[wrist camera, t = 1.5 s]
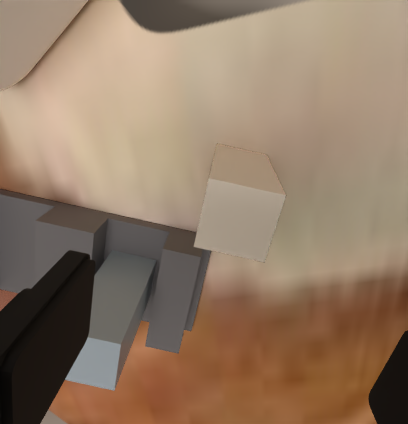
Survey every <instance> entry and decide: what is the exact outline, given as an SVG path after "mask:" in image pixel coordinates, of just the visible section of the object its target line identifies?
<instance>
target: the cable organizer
mask: <svg viewBox="0 0 408 424" xmlns="http://www.w3.org/2000/svg"><path fill="white" fill-rule="evenodd" d="M87 2H88V0H0V90H4V89H7V88H10V87H11V86H13V85H15V84H16V83H18V82H19V81H20V80H22V79H23V78H24V77H25V76H26V75H27V74H28V73H29V72H30V71H31V70H32V69H33V67H34V66H35V65H36V64H37V63H38V61H39V60H40V59H41V58H42V56H43V55H44V54H45V53H46V52H47V50H48V49H49V48H50V47H51V45H52V44H53V43H54V42H55V41H56V39H57V38H58V37H59V36H60V35H61V33H62V32H63V31H64V30H65V28H66V27H67V26H68V25H69V24H70V22H71V21H72V20H73V19H74V17H75V16H76V15H77V14H78V13H79V11H80V10H81V9H82V8H83V6H84V5H85V4H86V3H87Z"/></svg>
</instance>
